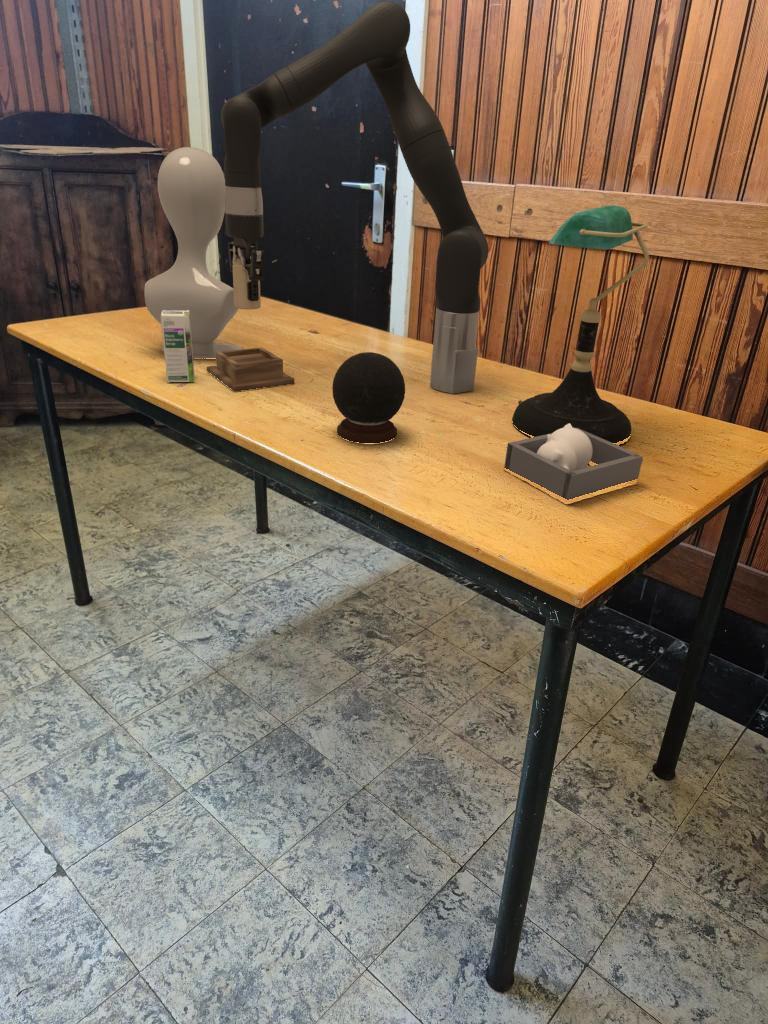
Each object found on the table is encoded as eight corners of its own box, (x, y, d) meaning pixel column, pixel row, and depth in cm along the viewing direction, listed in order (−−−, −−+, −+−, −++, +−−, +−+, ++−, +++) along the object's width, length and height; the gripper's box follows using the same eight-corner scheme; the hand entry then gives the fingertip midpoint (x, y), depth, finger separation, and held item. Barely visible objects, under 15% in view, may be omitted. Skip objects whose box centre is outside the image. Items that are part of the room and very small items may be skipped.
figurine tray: (636, 484, 116) (643, 456, 114) (566, 505, 108) (572, 475, 105) (572, 453, 126) (577, 427, 124) (503, 470, 118) (507, 442, 116)
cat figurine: (560, 434, 108) (588, 412, 117) (503, 453, 115) (534, 431, 124) (581, 486, 110) (607, 460, 118) (524, 501, 117) (552, 476, 125)
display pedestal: (294, 384, 154) (294, 361, 152) (234, 392, 147) (233, 368, 145) (263, 365, 166) (263, 344, 164) (206, 371, 159) (205, 350, 157)
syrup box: (166, 383, 150) (159, 314, 143) (168, 375, 155) (161, 308, 148) (194, 383, 151) (188, 315, 145) (194, 375, 156) (189, 308, 150)
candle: (234, 309, 147) (231, 259, 142) (234, 304, 152) (232, 255, 147) (260, 310, 148) (259, 260, 143) (260, 304, 152) (259, 256, 148)
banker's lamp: (533, 399, 154) (564, 199, 135) (641, 420, 145) (690, 210, 126) (492, 435, 132) (522, 205, 114) (615, 463, 124) (670, 218, 105)
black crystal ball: (413, 428, 134) (418, 350, 127) (384, 452, 123) (389, 368, 116) (351, 416, 138) (353, 340, 131) (318, 437, 127) (319, 355, 120)
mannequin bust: (257, 345, 181) (251, 150, 161) (228, 366, 164) (217, 149, 143) (177, 337, 184) (161, 144, 163) (140, 357, 166) (116, 143, 146)
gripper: (276, 215, 137) (278, 303, 145) (247, 208, 148) (250, 290, 156) (240, 215, 134) (244, 305, 142) (213, 208, 144) (217, 292, 152)
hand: (247, 297), depth 149 cm, fingers closed on candle, 5 cm apart
